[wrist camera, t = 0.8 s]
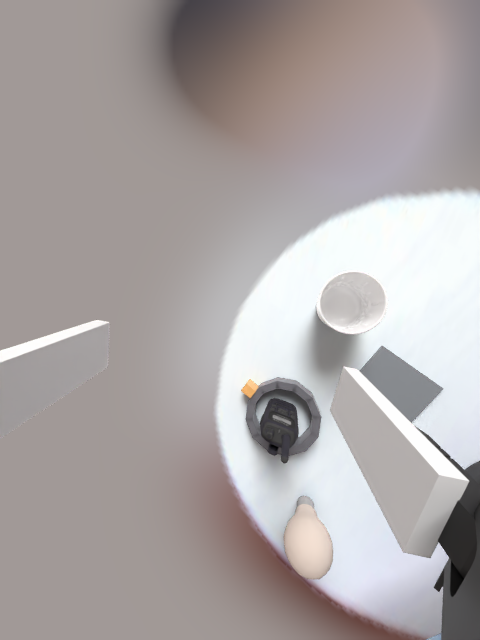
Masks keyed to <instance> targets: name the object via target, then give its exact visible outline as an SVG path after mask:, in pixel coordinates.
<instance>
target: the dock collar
mask: <svg viewBox="0 0 480 640" xmlns="http://www.w3.org/2000/svg"><path fill="white" fill-rule="evenodd" d="M275 389H283V390H288V391H293V392H295V393H296V394H297V395H298V396H300V397H301V398H302V399H303V400H305V401H306V402H307V404H308V407H309V409H310V411H311V422H310V426H309V428H308V429H307V430H306V431H305V432H304V433H303V434H302V436H301V437H298V439H297V440H296V441H295V443H294V445H293V446H292V447H291V448H289V456H290V455H294V454H297V453H301V452H305V451H306V450H307V449H308V448H309V447H310V446H311V445H312V444H313V442H314V441H315V440H316V439H317V438H318V437H319V429H320V422H321V415H320V411H319V409H318V406H317V404H316V402H315V399H314V397H313V394H312V393H311V392H310V391H309V390H307V389H306V388H305V387H304V386H303V385H301V384H300V383H299V382H298V381H295V380H290V379H285V378H279V377H277V378H275V379H272V380H269V381H266V382H263V383H261V384H260V386H259V387H258V385H256V384H255V383H254V382H253V381H252V380H251V379H250V380H249V381H248V382H247V383H246V385H245V386H244V387H243V388H242V390H241V391H242V392H243V393H244V394H245V395H247V396H248V397H249V398H250V399H249V400H248V406H247V414H246V421H247V424H248V427H249V429H250V432H251V434H252V437H253V438H254V439H255V440H256V441H257V442H258V443H259V444H260V445H262V446H263V447H264V448H265V449H266V450H267V451H268V448H269V444H270V443H268V442H267V441H266V440H265V439H264V438H263V437H262V436H261V429H260V424H259V421H258V419H257V416H256V414H255V412H256V405H257V401H258V400H259V399H260V397H261V396H262V395H263V394H264V393H266V392H269V391H272V390H275ZM277 454H281V448H280V447H279V448H278V453H277Z"/></svg>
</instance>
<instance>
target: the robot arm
mask: <svg viewBox="0 0 480 640" xmlns="http://www.w3.org/2000/svg"><path fill="white" fill-rule="evenodd" d="M109 326H110V323H109V322H105V321H99V320H95V321H92V322H89V323H85V324H83V325H79V326H76V327H73V328H70V329H67V330H64V331H60V332H57V333H54V334H51V335H48V336H45V337H42V338H39V339H36V340H32V341H29V342H26V343H23V344H20V345H17V346H14V347H11V348H8V349H5V350H1V351H0V438H2V437H3V436H5V435H6V434H8V433H9V432H11V431H12V430H14V429H16V428H17V427H18V426H20V425H21V424H23V423H24V422H26V421H28V420H29V419H30V418H32V417H34V416H35V415H36V414H38V413H40V412H41V411H43V410H44V409H46V408H47V407H49V406H50V405H52V404H53V403H55V402H56V401H58V400H59V399H61V398H62V397H64V396H65V395H67V394H68V393H70V392H71V391H73V390H74V389H76V388H77V387H79V386H80V385H82V384H83V383H85V382H86V381H88V380H89V379H91V378H92V377H94V376H95V375H97V374H98V373H100V372H101V371H103V370H104V369H106V368H107V367H108V352H109ZM330 412H331V414H332V416H333V418H334V419H335V421H336V423H337V425H338V427H339V429H340V431H341V433H342V435H343V437H344V439H345V441H346V443H347V445H348V447H349V448H350V450H351V452H352V454H353V456H354V458H355V460H356V462H357V464H358V466H359V468H360V470H361V472H362V474H363V476H364V478H365V479H366V481H367V483H368V485H369V487H370V489H371V491H372V493H373V495H374V497H375V499H376V501H377V503H378V505H379V507H380V508H381V510H382V512H383V514H384V516H385V518H386V520H387V522H388V524H389V526H390V528H391V530H392V532H393V534H394V536H395V538H396V539H397V541H398V543H399V545H400V547H401V549H402V551H403V552H404V553H408V554H413V555H418V556H422V557H427V558H431V556H432V554H433V552H434V550H435V548H436V546H437V544H438V542H439V543H440V544H441V546H442V547H443V549H444V550H445V552H446V553H447V555H448V556H449V560H448V561H447V563H446V565H445V567H444V569H443V571H442V573H441V575H440V576H439V578H438V580H437V582H436V584H435V586H434V588H435V589H436V590H437V591H438V592H439V591H440V589H441V588H442V587H443V609H442V631H441V633H440V634H438V635H436V636H433V637H431V638H429V639H426V640H480V461H479V462H477V463H475V464H473V465H471V466H470V467H468V468H467V469H466V470H464V469H463V468H462V467H461V466H460V465H459V464H458V463H456V462H455V461H454V460H453V459H451V458H450V456H449V455H448V454H447V453H446V452H445V451H444V450H443V449H441V448H440V446H439V445H438V444H437V443H436V442H435V441H434V440H433V439H432V438H431V437H430V436H428V435H427V434H426V433H424V432H423V431H421V430H420V429H418V428H417V427H416V426H414V425H413V424H412V423H411V422H410V421H409V420H408V419H407V418H406V417H405V416H404V415H403V414H402V413H401V412H400V411H399V410H398V409H397V408H396V407H395V406H394V405H393V404H392V403H391V402H390V401H389V400H388V399H387V398H386V397H385V396H384V395H383V394H382V393H381V392H380V391H379V390H378V389H377V388H376V387H375V386H374V385H373V384H372V383H371V382H370V381H369V380H368V379H367V378H366V377H365V376H364V375H363V374H362V373H361V372H360V371H359V370H358V369H354V368H349V367H343V369H342V372H341V375H340V379H339V382H338V385H337V388H336V392H335V395H334V398H333V402H332V405H331V408H330Z"/></svg>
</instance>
